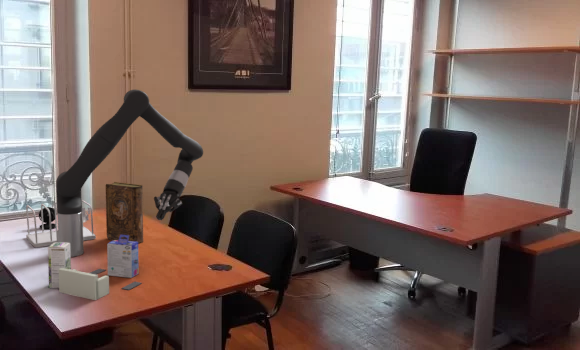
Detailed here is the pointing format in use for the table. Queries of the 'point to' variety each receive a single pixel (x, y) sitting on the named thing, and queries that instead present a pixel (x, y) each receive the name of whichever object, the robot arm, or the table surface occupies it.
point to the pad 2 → (131, 285)
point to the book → (124, 211)
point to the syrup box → (58, 261)
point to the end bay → (83, 284)
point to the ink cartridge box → (122, 257)
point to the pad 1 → (97, 271)
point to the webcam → (46, 218)
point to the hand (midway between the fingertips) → (159, 219)
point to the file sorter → (50, 236)
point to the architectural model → (85, 214)
